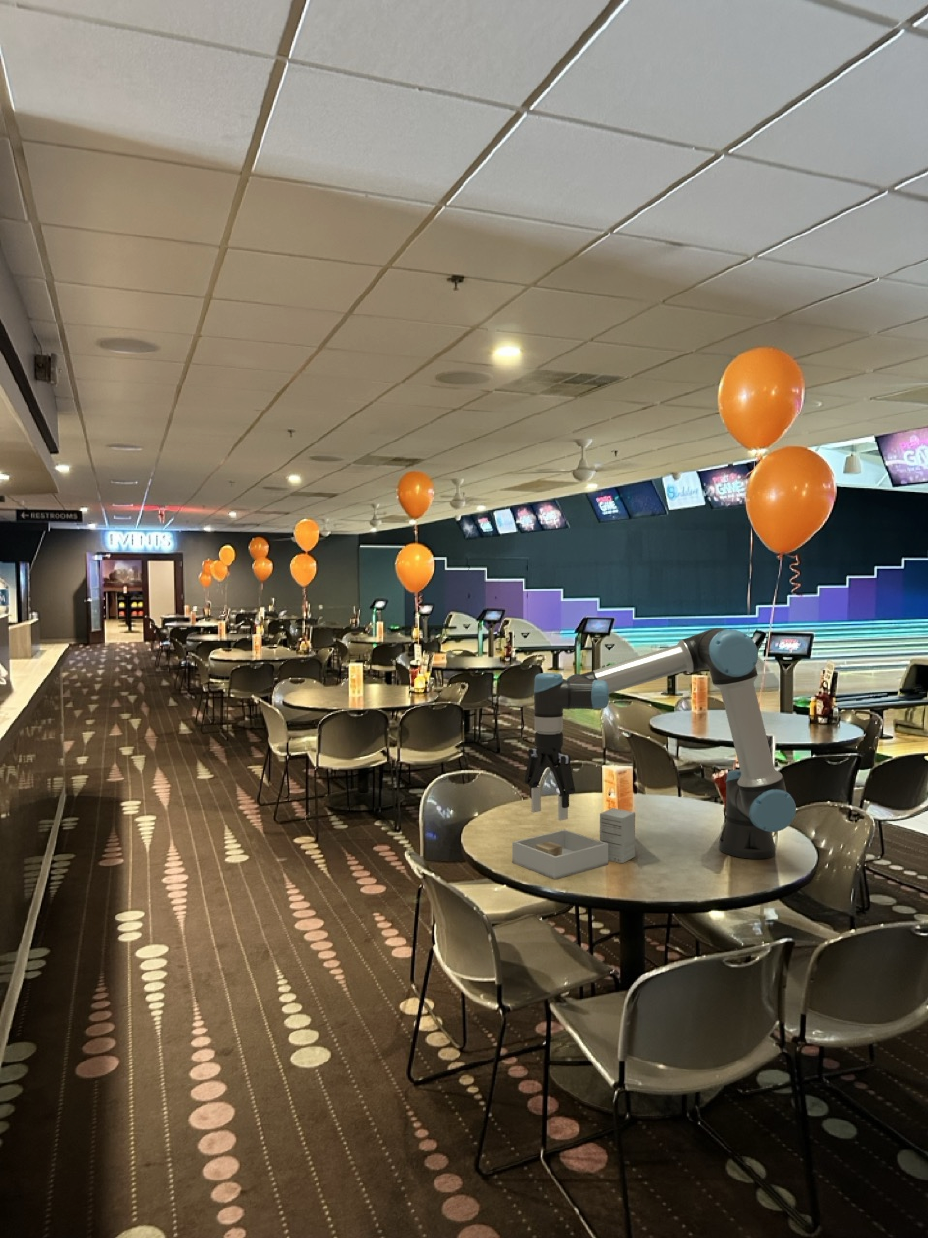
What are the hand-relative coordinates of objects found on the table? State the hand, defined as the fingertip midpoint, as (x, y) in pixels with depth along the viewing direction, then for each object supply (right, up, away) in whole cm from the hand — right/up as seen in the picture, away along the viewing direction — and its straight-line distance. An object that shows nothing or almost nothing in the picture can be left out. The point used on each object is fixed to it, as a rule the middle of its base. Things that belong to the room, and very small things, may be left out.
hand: (549, 815), depth 220 cm
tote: (+3, -14, +3) cm, 14 cm away
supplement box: (+20, -14, +8) cm, 25 cm away
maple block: (0, -13, +1) cm, 13 cm away
